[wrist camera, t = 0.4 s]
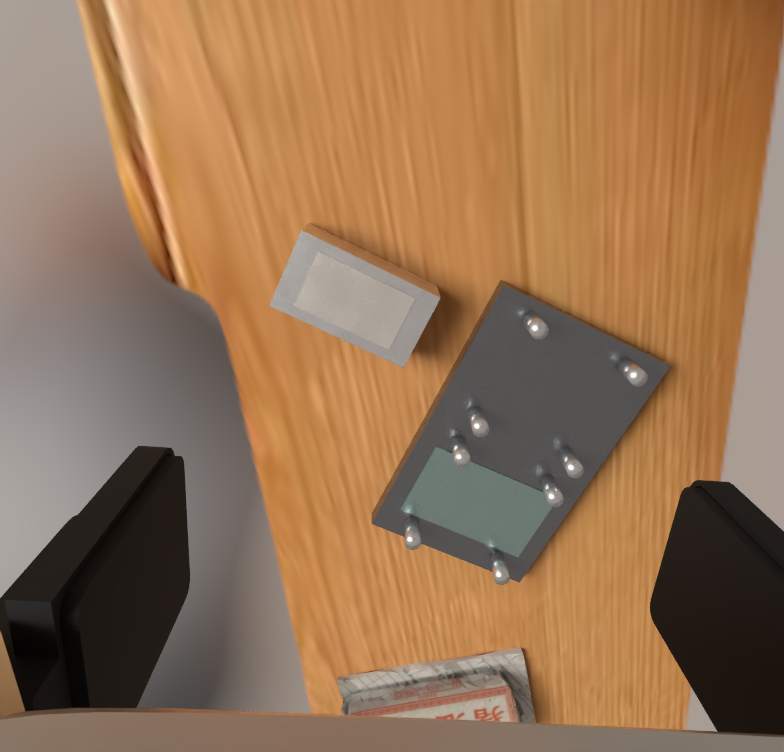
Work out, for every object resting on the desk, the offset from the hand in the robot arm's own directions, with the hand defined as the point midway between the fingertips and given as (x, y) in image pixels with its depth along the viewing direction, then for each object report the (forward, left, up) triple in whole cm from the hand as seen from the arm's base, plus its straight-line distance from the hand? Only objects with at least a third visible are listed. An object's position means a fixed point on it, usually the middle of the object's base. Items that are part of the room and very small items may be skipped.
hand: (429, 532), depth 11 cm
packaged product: (+38, +22, -33) cm, 55 cm away
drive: (+4, -2, -33) cm, 33 cm away
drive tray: (+10, +14, -32) cm, 37 cm away
